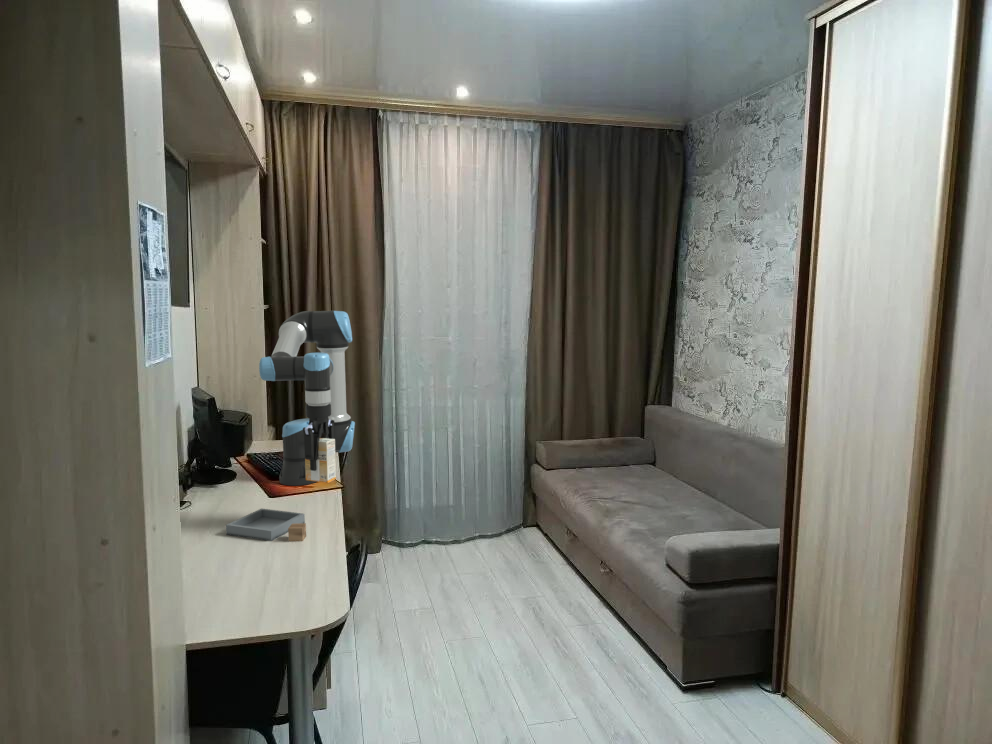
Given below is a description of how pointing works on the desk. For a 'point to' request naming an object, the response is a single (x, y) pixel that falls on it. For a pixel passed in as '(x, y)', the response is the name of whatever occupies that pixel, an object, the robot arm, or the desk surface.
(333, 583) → the desk surface
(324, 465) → the supplement box
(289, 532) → the walnut block
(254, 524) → the tray
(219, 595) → the desk surface
